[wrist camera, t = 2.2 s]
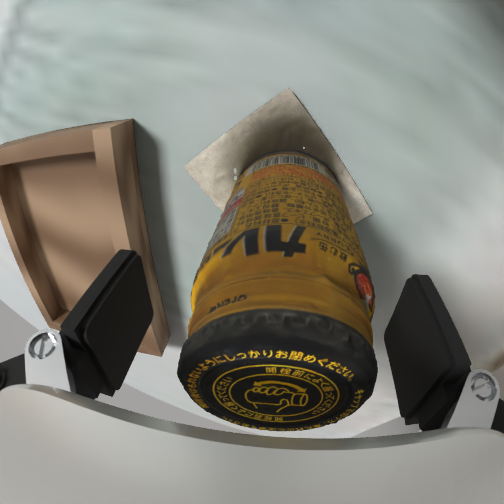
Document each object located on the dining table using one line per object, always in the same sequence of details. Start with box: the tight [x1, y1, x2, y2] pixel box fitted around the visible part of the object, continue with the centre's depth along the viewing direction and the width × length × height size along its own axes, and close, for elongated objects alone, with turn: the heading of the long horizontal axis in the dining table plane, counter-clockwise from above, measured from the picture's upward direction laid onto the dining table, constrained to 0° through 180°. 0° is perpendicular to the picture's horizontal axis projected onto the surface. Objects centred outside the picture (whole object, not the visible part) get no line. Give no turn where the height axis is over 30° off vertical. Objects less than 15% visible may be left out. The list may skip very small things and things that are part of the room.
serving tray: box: [0, 119, 170, 357], centre depth 19 cm, size 18×13×2 cm
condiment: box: [177, 88, 378, 431], centre depth 11 cm, size 7×8×12 cm
